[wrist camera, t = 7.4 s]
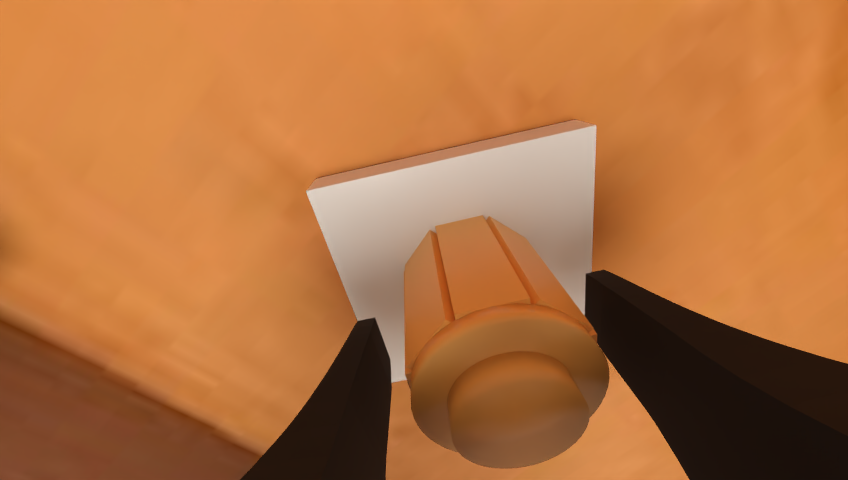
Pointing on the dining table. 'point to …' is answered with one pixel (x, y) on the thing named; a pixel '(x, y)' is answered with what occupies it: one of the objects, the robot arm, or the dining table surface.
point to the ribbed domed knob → (496, 348)
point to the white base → (459, 213)
